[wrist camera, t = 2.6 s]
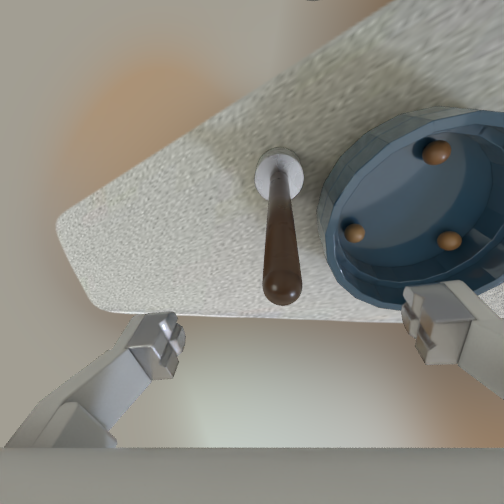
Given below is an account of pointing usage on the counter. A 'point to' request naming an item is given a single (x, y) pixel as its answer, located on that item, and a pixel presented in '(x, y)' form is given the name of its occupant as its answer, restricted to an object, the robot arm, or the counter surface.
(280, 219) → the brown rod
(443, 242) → the bead
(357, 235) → the bead
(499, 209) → the bowl
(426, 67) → the counter surface
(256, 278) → the counter surface
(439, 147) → the bead
